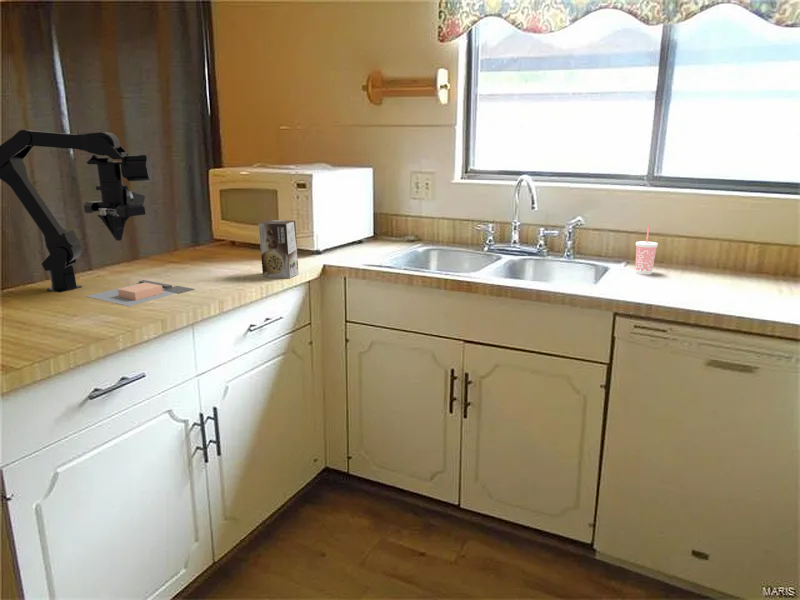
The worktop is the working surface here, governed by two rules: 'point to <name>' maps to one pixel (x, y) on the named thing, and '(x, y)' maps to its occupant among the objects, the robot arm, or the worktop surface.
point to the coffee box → (278, 248)
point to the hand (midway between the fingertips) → (118, 240)
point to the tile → (140, 291)
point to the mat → (114, 297)
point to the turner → (169, 287)
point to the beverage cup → (645, 256)
